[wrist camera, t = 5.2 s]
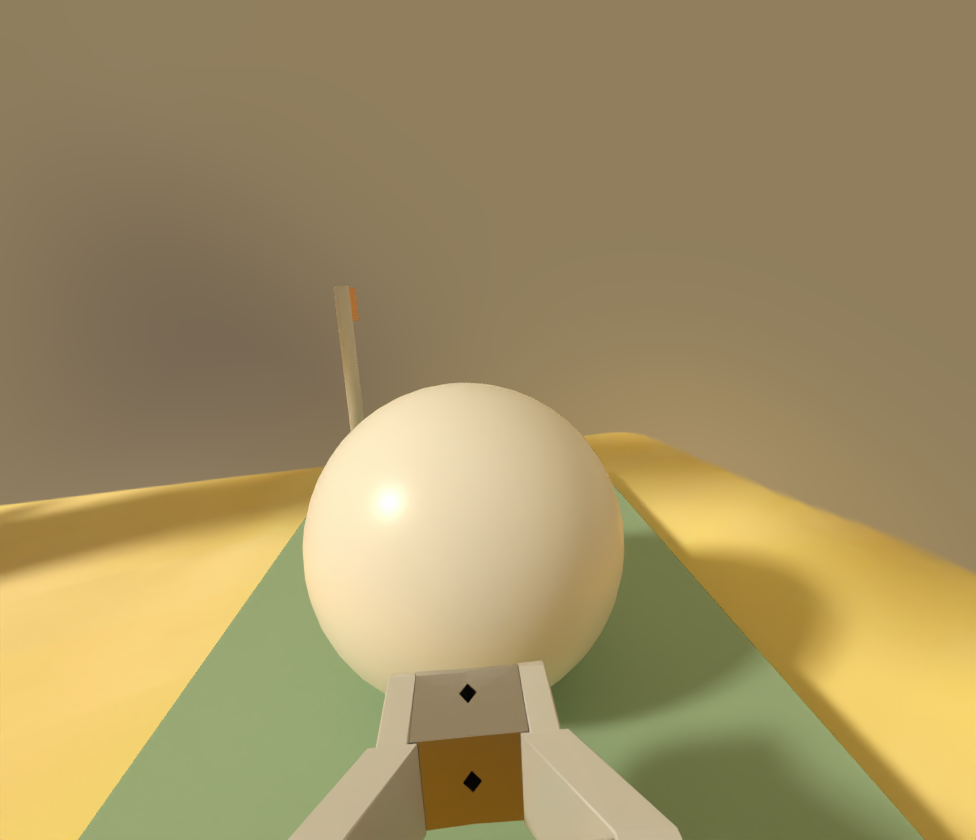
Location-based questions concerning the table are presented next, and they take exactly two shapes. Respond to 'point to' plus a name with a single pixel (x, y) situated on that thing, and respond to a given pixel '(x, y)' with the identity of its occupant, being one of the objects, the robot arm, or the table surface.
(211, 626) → the table surface
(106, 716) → the table surface
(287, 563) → the putting mat
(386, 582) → the ball
